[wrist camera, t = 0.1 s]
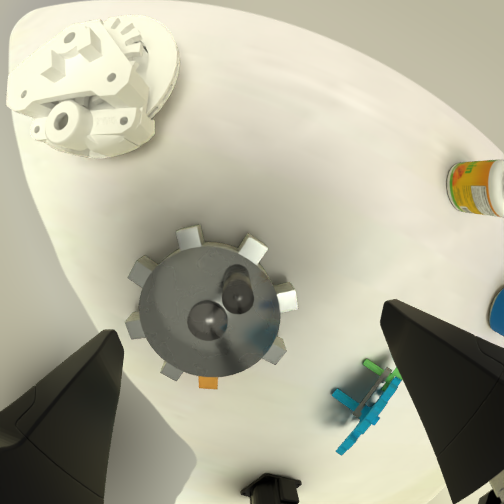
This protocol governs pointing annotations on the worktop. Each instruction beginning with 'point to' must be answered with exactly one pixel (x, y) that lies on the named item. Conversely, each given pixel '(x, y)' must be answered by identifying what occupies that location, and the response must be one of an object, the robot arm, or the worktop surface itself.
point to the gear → (362, 410)
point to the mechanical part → (97, 85)
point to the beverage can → (497, 313)
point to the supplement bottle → (477, 187)
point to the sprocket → (210, 308)
